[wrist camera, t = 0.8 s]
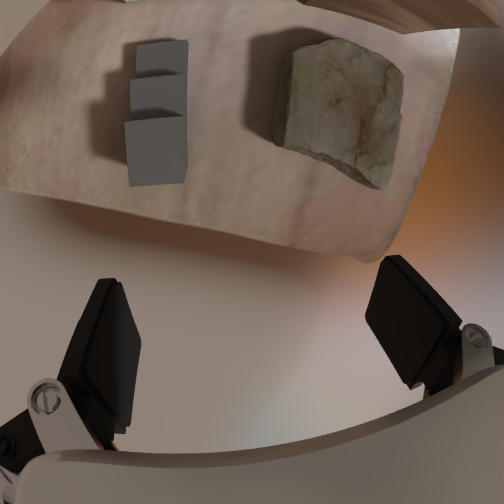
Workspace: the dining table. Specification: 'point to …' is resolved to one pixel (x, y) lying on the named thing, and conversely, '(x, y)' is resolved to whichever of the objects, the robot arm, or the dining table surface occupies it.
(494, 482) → the robot arm
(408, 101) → the dining table surface
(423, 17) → the wood grain plank
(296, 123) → the marble piece
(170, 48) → the grey stepped block
